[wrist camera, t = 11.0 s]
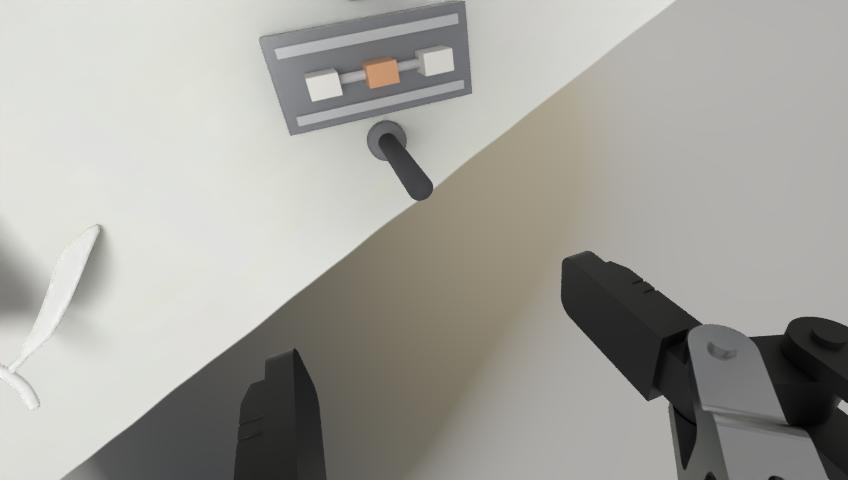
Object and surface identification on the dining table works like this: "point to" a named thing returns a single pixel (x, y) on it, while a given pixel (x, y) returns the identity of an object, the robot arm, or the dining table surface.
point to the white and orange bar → (379, 72)
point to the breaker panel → (362, 43)
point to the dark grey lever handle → (399, 158)
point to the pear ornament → (52, 310)
